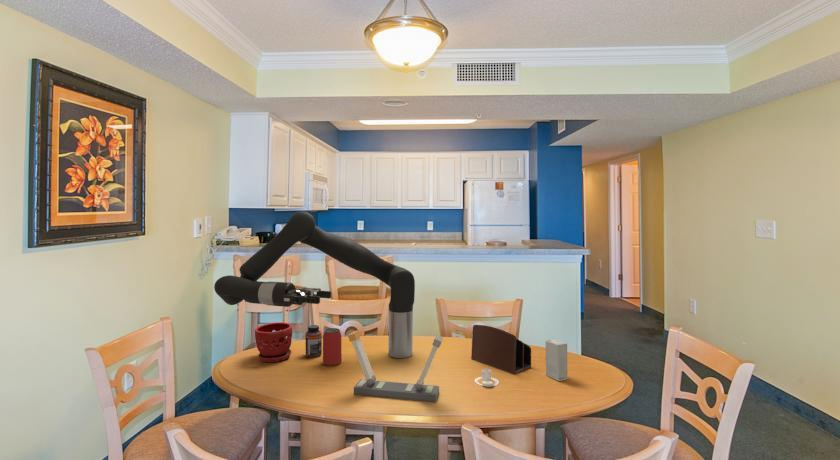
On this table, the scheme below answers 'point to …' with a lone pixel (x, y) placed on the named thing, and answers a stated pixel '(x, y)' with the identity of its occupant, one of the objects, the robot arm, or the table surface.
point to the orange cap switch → (362, 357)
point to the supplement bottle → (313, 341)
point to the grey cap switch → (429, 362)
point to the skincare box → (556, 359)
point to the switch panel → (397, 390)
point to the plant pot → (273, 341)
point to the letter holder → (500, 349)
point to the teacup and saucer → (486, 379)
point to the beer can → (332, 346)
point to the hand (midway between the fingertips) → (325, 297)
